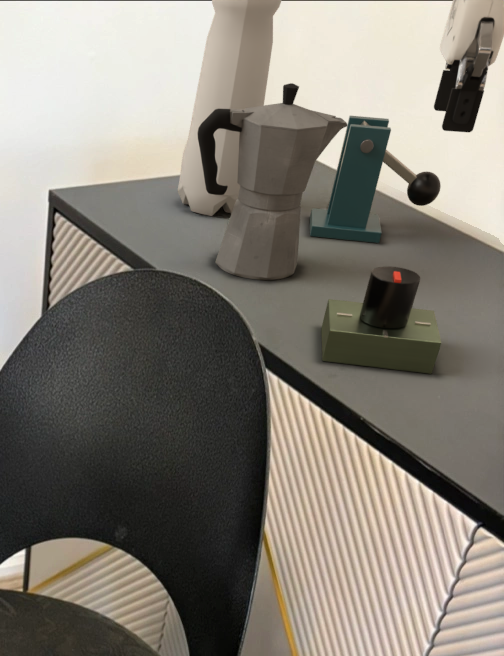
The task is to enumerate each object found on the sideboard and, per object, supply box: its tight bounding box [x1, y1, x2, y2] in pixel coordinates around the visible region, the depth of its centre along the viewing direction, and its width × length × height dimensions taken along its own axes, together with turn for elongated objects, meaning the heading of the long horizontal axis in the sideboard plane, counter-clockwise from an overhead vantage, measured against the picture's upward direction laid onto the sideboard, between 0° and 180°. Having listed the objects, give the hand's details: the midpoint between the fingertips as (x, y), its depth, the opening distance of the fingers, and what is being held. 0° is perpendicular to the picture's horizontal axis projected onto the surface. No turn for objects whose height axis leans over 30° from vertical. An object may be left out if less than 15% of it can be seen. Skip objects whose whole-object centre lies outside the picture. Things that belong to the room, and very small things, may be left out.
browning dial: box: [360, 265, 421, 329], centre depth 104 cm, size 4×4×4 cm
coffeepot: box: [197, 82, 348, 281], centre depth 118 cm, size 15×9×18 cm, turn 93°
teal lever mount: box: [309, 115, 392, 244], centre depth 130 cm, size 8×7×12 cm
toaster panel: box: [320, 298, 442, 375], centre depth 106 cm, size 10×9×3 cm
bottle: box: [177, 0, 282, 217], centre depth 129 cm, size 9×9×30 cm
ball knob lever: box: [361, 121, 442, 207], centre depth 128 cm, size 12×4×4 cm, turn 77°
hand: (451, 120), depth 124 cm, fingers open, 9 cm apart
